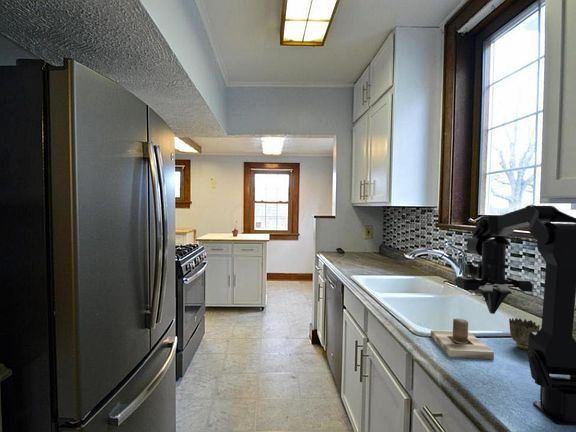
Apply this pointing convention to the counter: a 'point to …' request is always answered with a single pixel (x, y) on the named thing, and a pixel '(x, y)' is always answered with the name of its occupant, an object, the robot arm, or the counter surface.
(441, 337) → the board
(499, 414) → the counter surface
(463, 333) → the peg
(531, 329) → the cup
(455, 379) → the counter surface
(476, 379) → the counter surface
